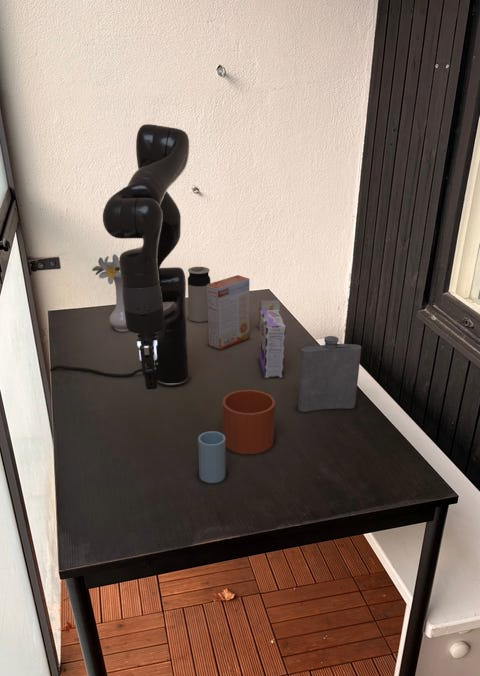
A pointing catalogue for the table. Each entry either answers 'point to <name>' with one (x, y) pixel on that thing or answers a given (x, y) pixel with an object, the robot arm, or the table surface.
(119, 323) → the flower vase
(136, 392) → the table surface
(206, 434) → the enamel cup
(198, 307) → the travel mug
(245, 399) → the flower pot
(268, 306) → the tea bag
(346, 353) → the hip flask
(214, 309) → the cracker box
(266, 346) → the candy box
